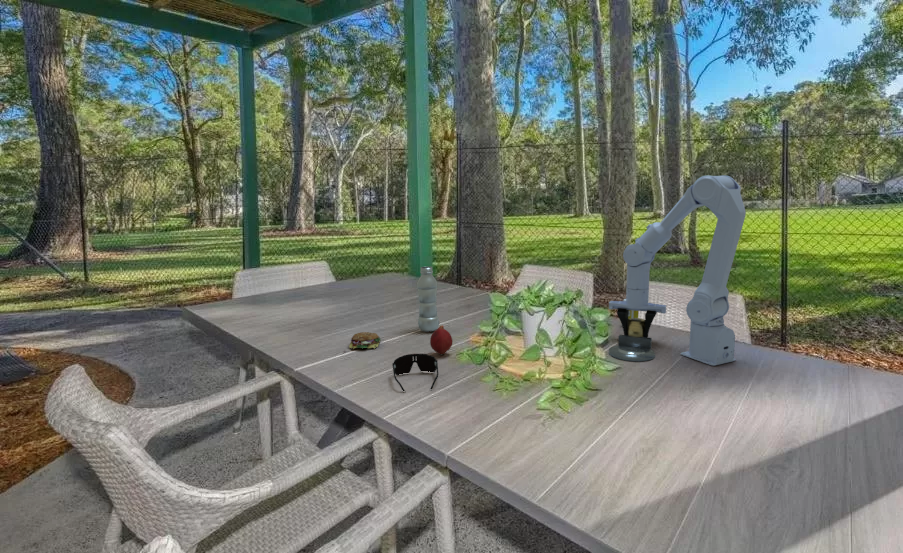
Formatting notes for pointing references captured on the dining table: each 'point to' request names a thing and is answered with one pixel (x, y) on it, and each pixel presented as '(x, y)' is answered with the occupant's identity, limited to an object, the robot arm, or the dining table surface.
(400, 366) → the sunglasses
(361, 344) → the hamburger
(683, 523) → the dining table surface
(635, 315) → the supplement bottle
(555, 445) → the dining table surface
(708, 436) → the dining table surface
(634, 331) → the cylinder
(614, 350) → the flange seat
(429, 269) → the plastic bottle
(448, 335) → the onion
